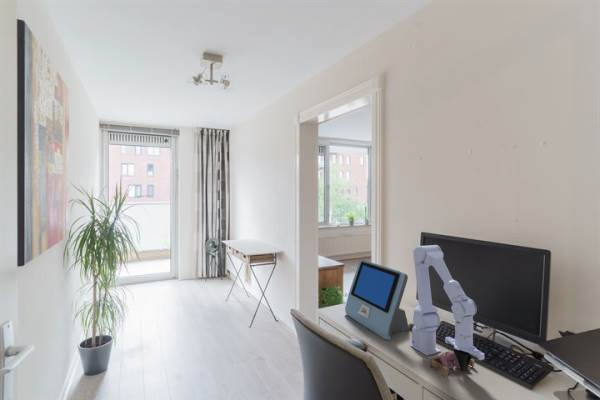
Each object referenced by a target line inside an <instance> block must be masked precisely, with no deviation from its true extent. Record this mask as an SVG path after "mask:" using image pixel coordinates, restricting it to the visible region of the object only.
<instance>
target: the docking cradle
mask: <svg viewBox="0 0 600 400" xmlns="http://www.w3.org/2000/svg"><path fill="white" fill-rule="evenodd" d="M429 360H430V361H429V363H430V365H429V366H430V369H432V370H434V371H435V372H437V373H439V374H440V373H441V374H440V375H442V376H444V377H445V378H447V377H449V373H448V368H446V367H445V366H443V365H442V363H441V361H440V356H437V357H433V358H430V359H429ZM450 361H451V362H452V363H454V362H453V361H454V360H450ZM469 365H470V366H472V367H474V368H475V359H471V360H470V362H469Z"/></svg>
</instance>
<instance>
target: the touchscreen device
mask: <svg viewBox="0 0 600 400" xmlns="http://www.w3.org/2000/svg"><path fill="white" fill-rule="evenodd" d="M408 278H409V276H408V274H406V273H404V272H402V271H399V270H397V269H393V268H391V267H387V266H385V265H381V264H377V263H375V262H371V261H368V260H365V259H361V260H359V262H358V264H357V267H356V271H355V274H354V276H353V279H352V283H351V286H350V289H349V291H348V295H347V299H346V303H345V309H344V312H345V314H346V315H347V316H348V317H350V318H352V319H353V320H354V321H356V322H358V323H359V324H361V325H362V326H363V327H365V328H366V329H368V330H370V331H371V332H373V333H375V334H376V335H378V336H380V337H381V338H382V339H385V340H386V341H390V340H391V339H392V334H393V333H398V332H399V333H400V332H405V331H409V330H410V327H409V322H408V319H407V315H406V312H405V309H402V308H400V306H401V303H402V299H403V296H404V293H405V290H406V287H407V282H408Z"/></svg>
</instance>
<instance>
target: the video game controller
mask: <svg viewBox="0 0 600 400" xmlns="http://www.w3.org/2000/svg"><path fill="white" fill-rule="evenodd" d="M439 357H440V361H441V363H442V365H443V366H445V367H446V368H448V374H449V373H450V369H453V368H459V369H460V367H459V363H458V360H457V357H456V355H455V354H454V352H453V350H450V351H449V350H448V351H444V352H442V353H441V354H440V355H439ZM450 360H454V362H451V361H450ZM470 371H471V367H470V366H469V365H468V368H467V372H470Z"/></svg>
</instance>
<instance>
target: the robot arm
mask: <svg viewBox="0 0 600 400" xmlns="http://www.w3.org/2000/svg"><path fill="white" fill-rule="evenodd" d="M412 252H413V253H412V255H413V263H414V271H415V279H416V291H417V300H418V305H417V306H416V307H415V308H414V309H413V318H412V323H413V326H412V328H411V344H409V345H410V347H412V348H413V349H415V350H417V351H419V352H420V353H422V354H424V355H425V356H429V355H433V354H436V353H440V352H441V349H440V348H438V347H437V330H438V327H439V326H440V325H441V317H440V314H439V312H438V311H439V310H438V308H436V307H435V306H434V305H433V298H432V289H431V280H430V273H429V267H430V266H432V267H433V268H434V270H435V272H436V273H437V275H439V277H440V279H441V280H442V281H443V291H445V293H446V295H447V297H448V300H450V303H451V304H452V305H451V308H450V309H451V312H452V314H453V319H454V321H455V323H454V338H453V337H450V336H446V337H445V341H444V342H445V343H446V344H447V345H448V344H449V345H451V346H453V348H454V349H453V350H452V351H453V352H454V354H455V355H456V357H457V360H458V363H459V370H460V371H462V372H464V373H465V372H468V370H467V368H468V365H469V362H470V360H471V359H472V358H473V357H475V358H477V360H479V361H483V360H485V353H484V352H482V351H481V350H479V349H477V347H475V346H474V343H473V340H474V336H473V335H474V333H473V331H474V316H475V315H476V314H477V311H478V309H477V304H476V302H475V301H474V300H473V299H471V298H470V297H469V296H468V295H466V293H465V291H464V290H463V288H462V285H461V284H460V282H459V281H457V280H456V279H453V277H452V275H451V273H450V271H449V269H448V267H447V264H446V262H445V260H444V255H445V254H444V252H443V251H442V248H441V247H440V246H439V245H438V244H433V245H432V244H431V245H417V246H416V247H415V248H414V249H413V251H412Z"/></svg>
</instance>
